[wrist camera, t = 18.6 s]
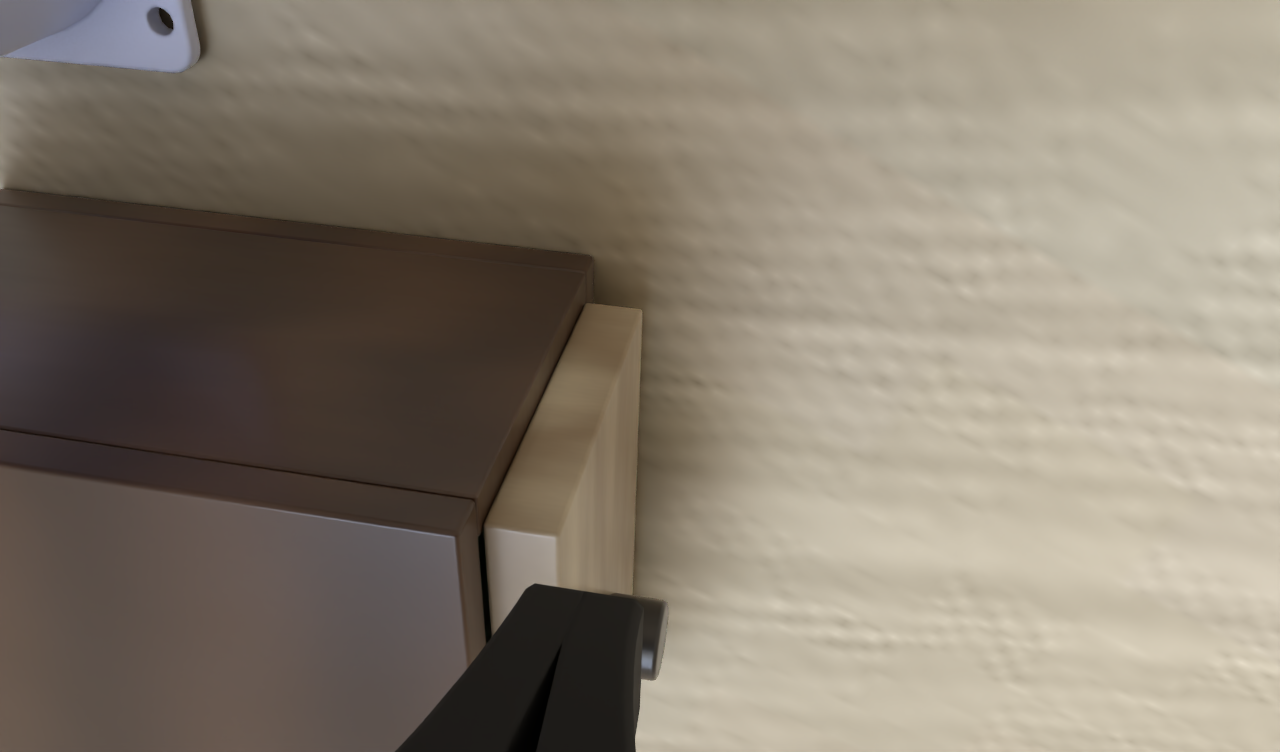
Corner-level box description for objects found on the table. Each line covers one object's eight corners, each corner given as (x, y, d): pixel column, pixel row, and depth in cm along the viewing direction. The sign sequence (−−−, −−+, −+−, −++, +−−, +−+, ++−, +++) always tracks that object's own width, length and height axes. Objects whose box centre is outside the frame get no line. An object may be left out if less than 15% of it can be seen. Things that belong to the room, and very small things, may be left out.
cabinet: (594, 254, 22) (459, 534, 14) (592, 666, 29) (500, 989, 22) (-1, 186, 23) (-377, 406, 16) (136, 589, 30) (-87, 864, 23)
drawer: (702, 315, 21) (640, 547, 15) (675, 693, 27) (624, 954, 22) (75, 240, 23) (-185, 423, 17) (188, 610, 29) (24, 831, 23)
